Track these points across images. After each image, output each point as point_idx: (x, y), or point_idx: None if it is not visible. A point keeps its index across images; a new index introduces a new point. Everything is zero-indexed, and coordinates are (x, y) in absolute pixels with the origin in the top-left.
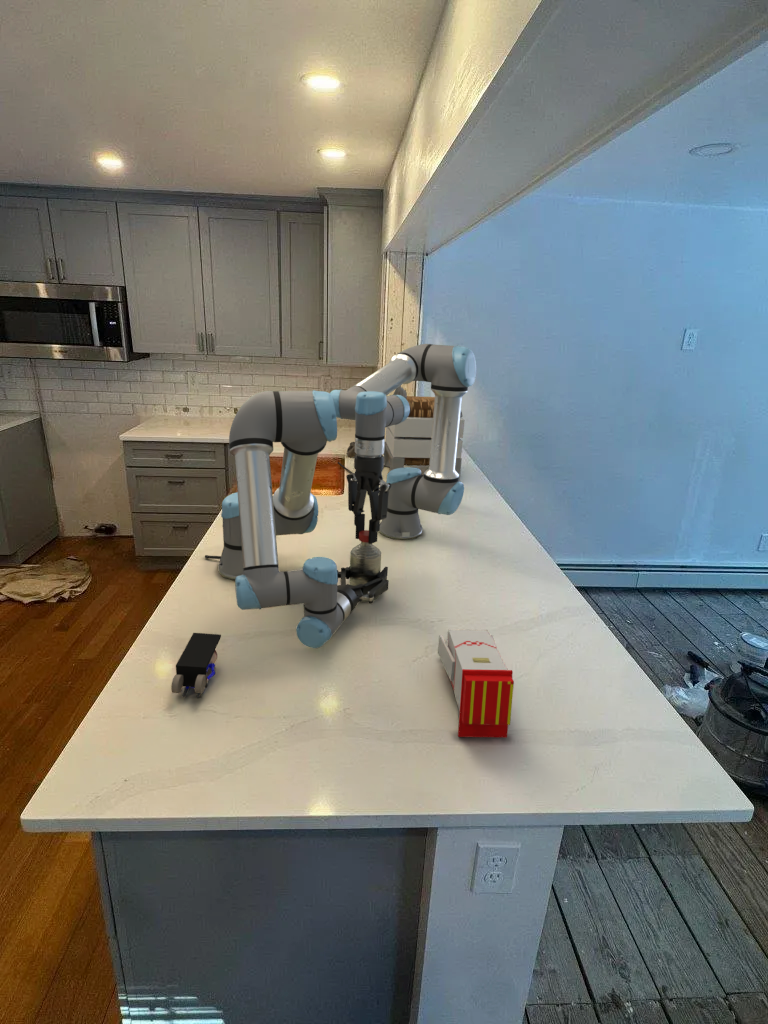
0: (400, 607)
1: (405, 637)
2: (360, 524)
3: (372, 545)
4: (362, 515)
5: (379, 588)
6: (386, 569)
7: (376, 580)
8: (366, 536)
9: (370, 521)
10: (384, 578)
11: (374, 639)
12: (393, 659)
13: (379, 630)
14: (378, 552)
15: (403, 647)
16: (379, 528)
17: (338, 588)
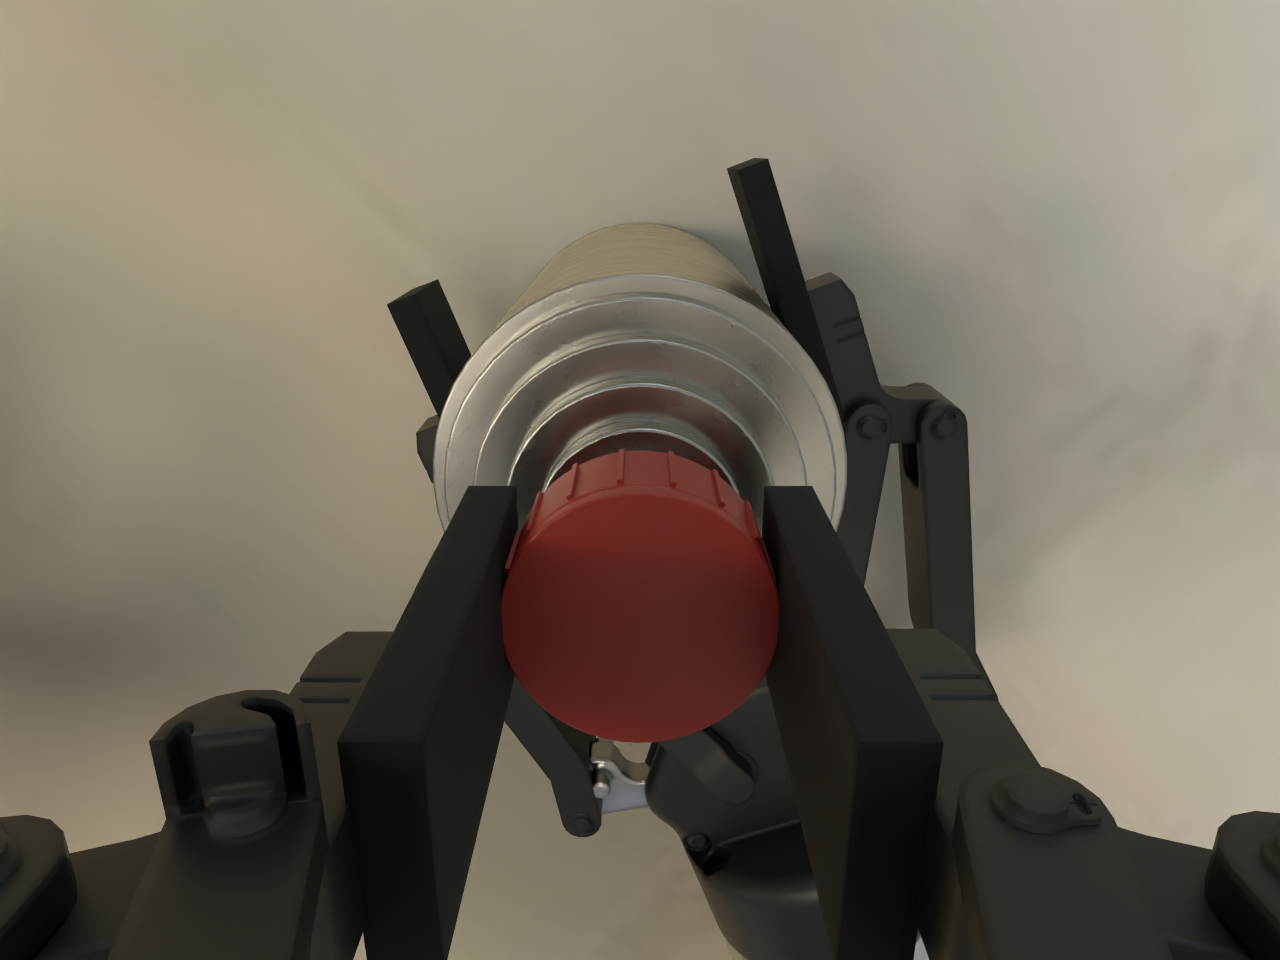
0: (989, 302)
1: (1221, 591)
2: (480, 729)
3: (721, 476)
4: (433, 820)
5: (970, 573)
6: (781, 208)
7: (861, 487)
8: (727, 705)
9: (876, 953)
10: (872, 366)
11: (1063, 726)
12: (1261, 793)
13: (1034, 638)
14: (808, 420)
15: (1259, 678)
16: (974, 670)
17: (821, 957)
